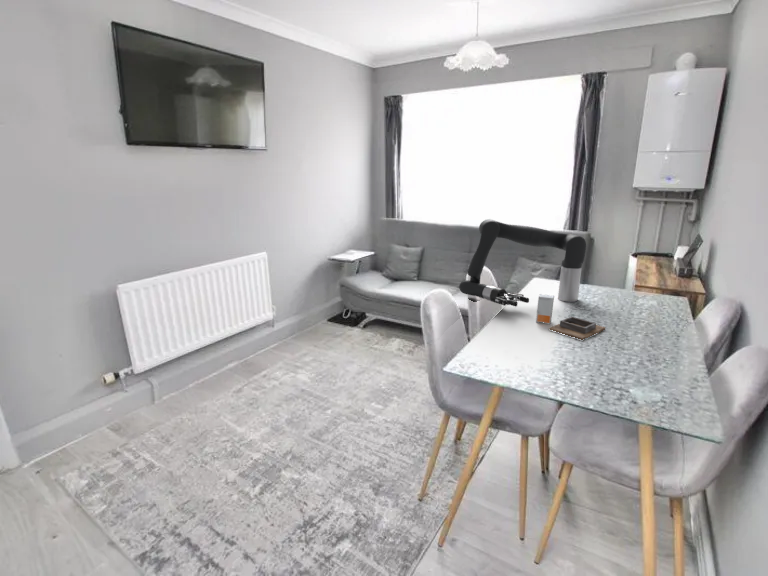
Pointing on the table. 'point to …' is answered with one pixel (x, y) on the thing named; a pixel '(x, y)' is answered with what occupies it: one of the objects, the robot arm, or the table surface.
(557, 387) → the table surface
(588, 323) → the holder
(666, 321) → the table surface
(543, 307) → the skincare box
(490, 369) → the table surface
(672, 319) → the table surface
